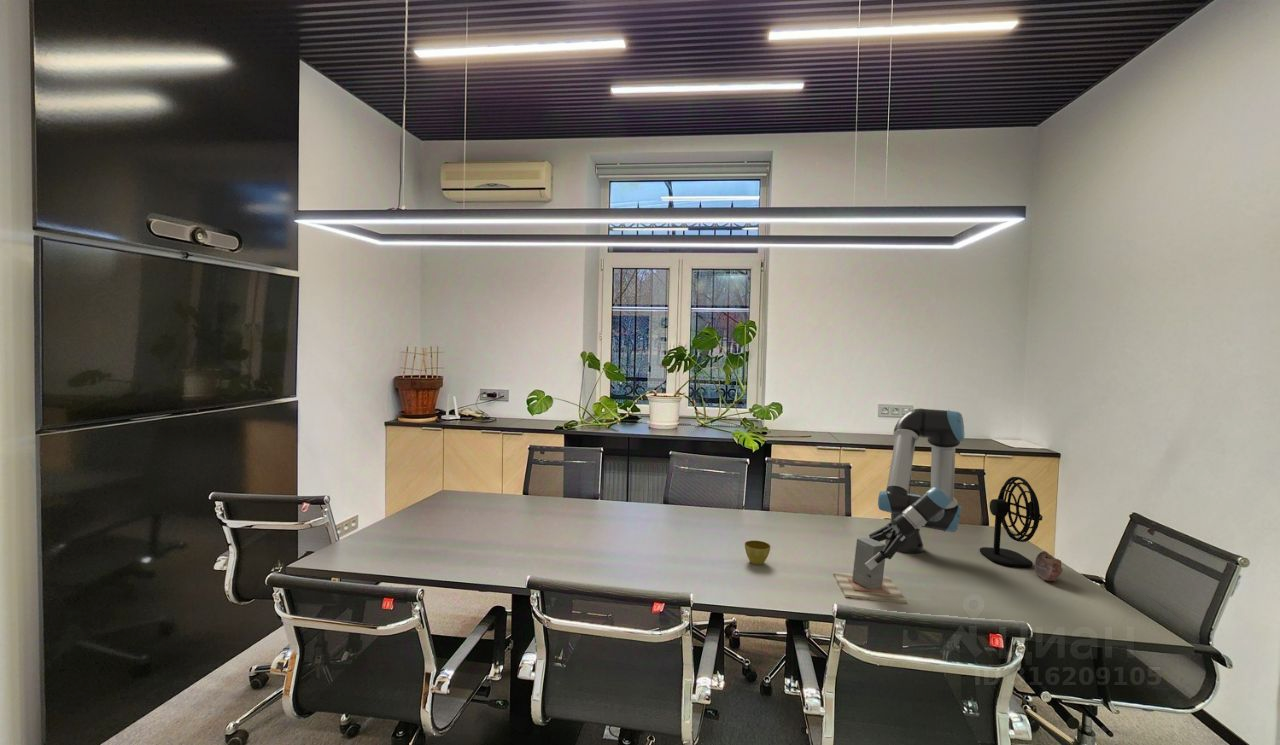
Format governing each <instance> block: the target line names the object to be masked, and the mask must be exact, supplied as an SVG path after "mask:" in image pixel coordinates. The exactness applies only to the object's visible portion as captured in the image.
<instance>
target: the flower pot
mask: <svg viewBox="0 0 1280 745" xmlns="http://www.w3.org/2000/svg"><path fill="white" fill-rule="evenodd" d="M771 548H772V547H771V544H769V543H768V542H766V541H761V540H747V541H745V542H744V549H745V553H746V556H747V558H748V560H749V563H751V564H753V565H755V566H756V565H757V566H759V565H763V564H764V563H765V562H766V560H767V559H768V557H769V555H770V551H771Z"/></svg>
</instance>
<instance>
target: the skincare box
mask: <svg viewBox="0 0 1280 745" xmlns="http://www.w3.org/2000/svg"><path fill="white" fill-rule="evenodd" d="M884 546H885V543H882V542H881V541H880V542H879V541H876V540H873V539H871V538H869V537H861V538H860V537H859V538H856V545H855V554H854V561H853V571H852V574H853V578H852V580H853V582H855V583H857V584H859V585H862V586H864V587H866V588H868V589H869V590H870V589H876V588H882V582H883V577H884V573H885V572H884V571H885V562H886V558H885V559H884V560H883V561H882V562H880V563H879V564H878V565H877V566H876V567H874V568H873V569H872V570H870V569H869V568H868V567H867V566H866V565H865V563H866V562H867V561H869V560H870V559H871V558H872V557H873V556H875V555H876V554H877V553H878V552H879V551H880V550H883V548H884Z"/></svg>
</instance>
